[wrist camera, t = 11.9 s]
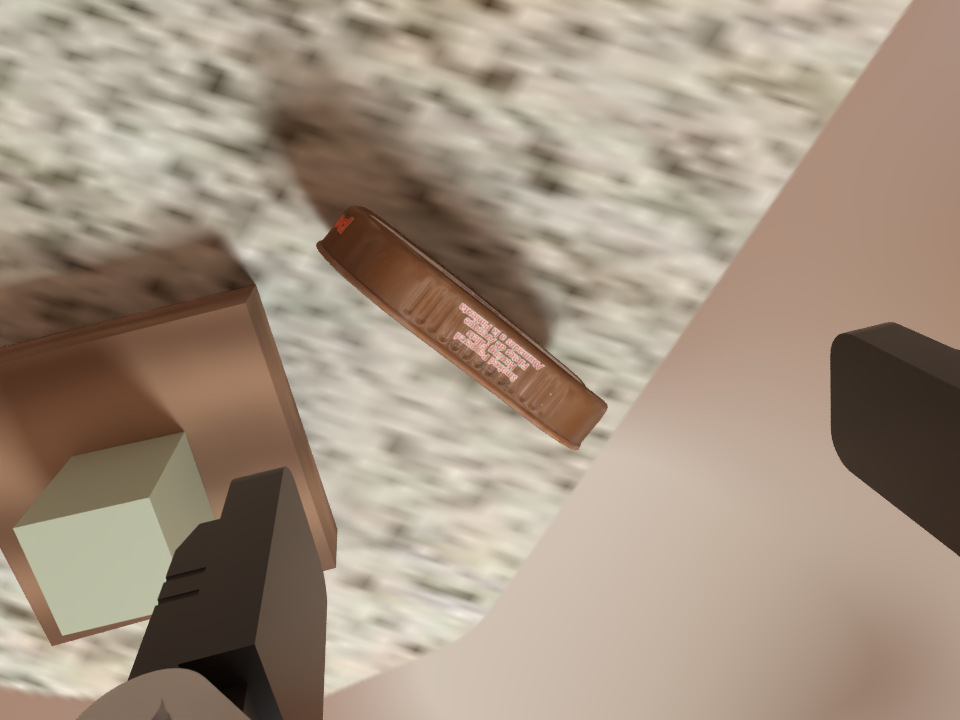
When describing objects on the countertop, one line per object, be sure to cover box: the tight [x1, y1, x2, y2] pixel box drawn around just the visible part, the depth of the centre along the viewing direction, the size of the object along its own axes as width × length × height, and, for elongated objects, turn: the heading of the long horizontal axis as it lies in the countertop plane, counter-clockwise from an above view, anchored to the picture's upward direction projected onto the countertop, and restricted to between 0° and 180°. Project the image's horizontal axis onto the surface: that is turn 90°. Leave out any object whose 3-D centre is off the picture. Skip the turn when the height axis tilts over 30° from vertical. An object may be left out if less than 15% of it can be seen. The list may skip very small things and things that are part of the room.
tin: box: [316, 206, 607, 450], centre depth 34 cm, size 15×3×8 cm, turn 49°
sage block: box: [13, 432, 215, 636], centre depth 32 cm, size 5×5×6 cm
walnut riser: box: [0, 285, 337, 646], centre depth 36 cm, size 14×14×4 cm
